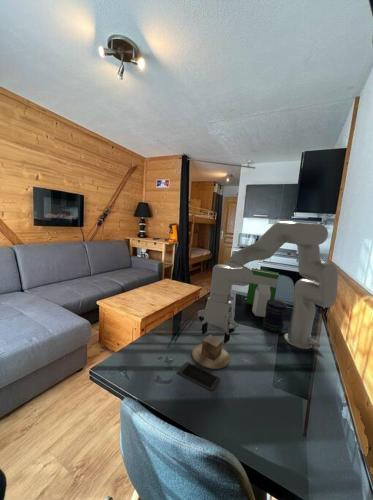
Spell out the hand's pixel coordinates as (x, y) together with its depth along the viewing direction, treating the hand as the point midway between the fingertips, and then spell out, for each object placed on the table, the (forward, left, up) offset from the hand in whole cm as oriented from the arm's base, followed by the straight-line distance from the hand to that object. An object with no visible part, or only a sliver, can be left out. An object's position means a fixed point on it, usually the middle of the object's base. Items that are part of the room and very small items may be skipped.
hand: (214, 337), depth 87 cm
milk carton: (-3, -59, -8) cm, 60 cm away
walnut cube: (0, +1, -7) cm, 7 cm away
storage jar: (-14, -44, -8) cm, 47 cm away
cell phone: (-2, +14, -9) cm, 16 cm away
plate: (0, +1, -8) cm, 8 cm away
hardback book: (+2, -77, -8) cm, 78 cm away
